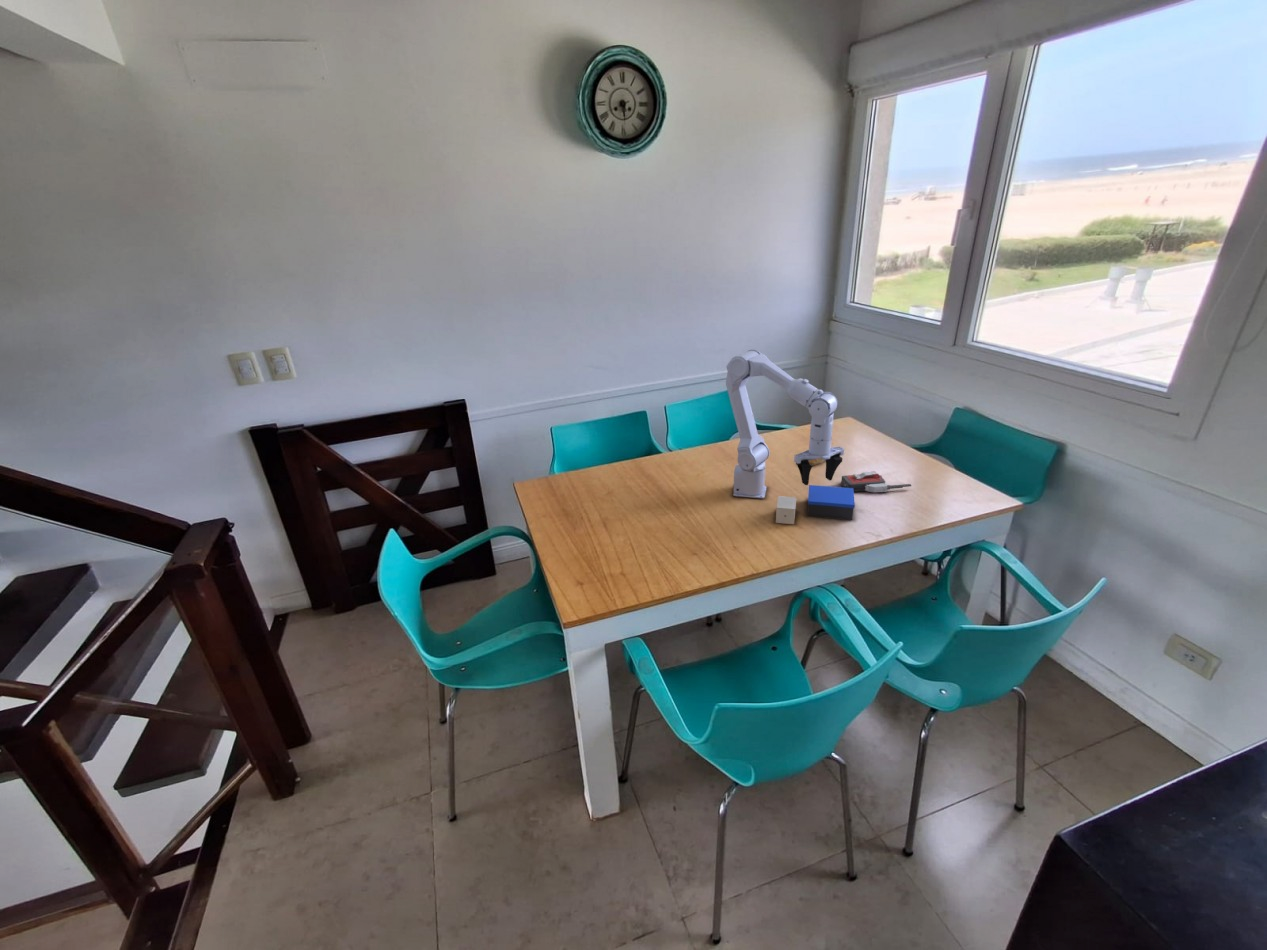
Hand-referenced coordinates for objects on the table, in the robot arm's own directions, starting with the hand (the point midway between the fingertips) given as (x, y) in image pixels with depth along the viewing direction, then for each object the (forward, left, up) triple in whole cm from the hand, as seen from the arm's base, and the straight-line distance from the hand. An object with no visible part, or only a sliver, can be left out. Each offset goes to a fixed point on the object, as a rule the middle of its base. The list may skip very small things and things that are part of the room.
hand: (816, 481), depth 159 cm
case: (-8, -7, -9) cm, 14 cm away
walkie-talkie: (+17, +17, -9) cm, 26 cm away
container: (+4, 0, -9) cm, 10 cm away
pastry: (-1, +34, -9) cm, 36 cm away
